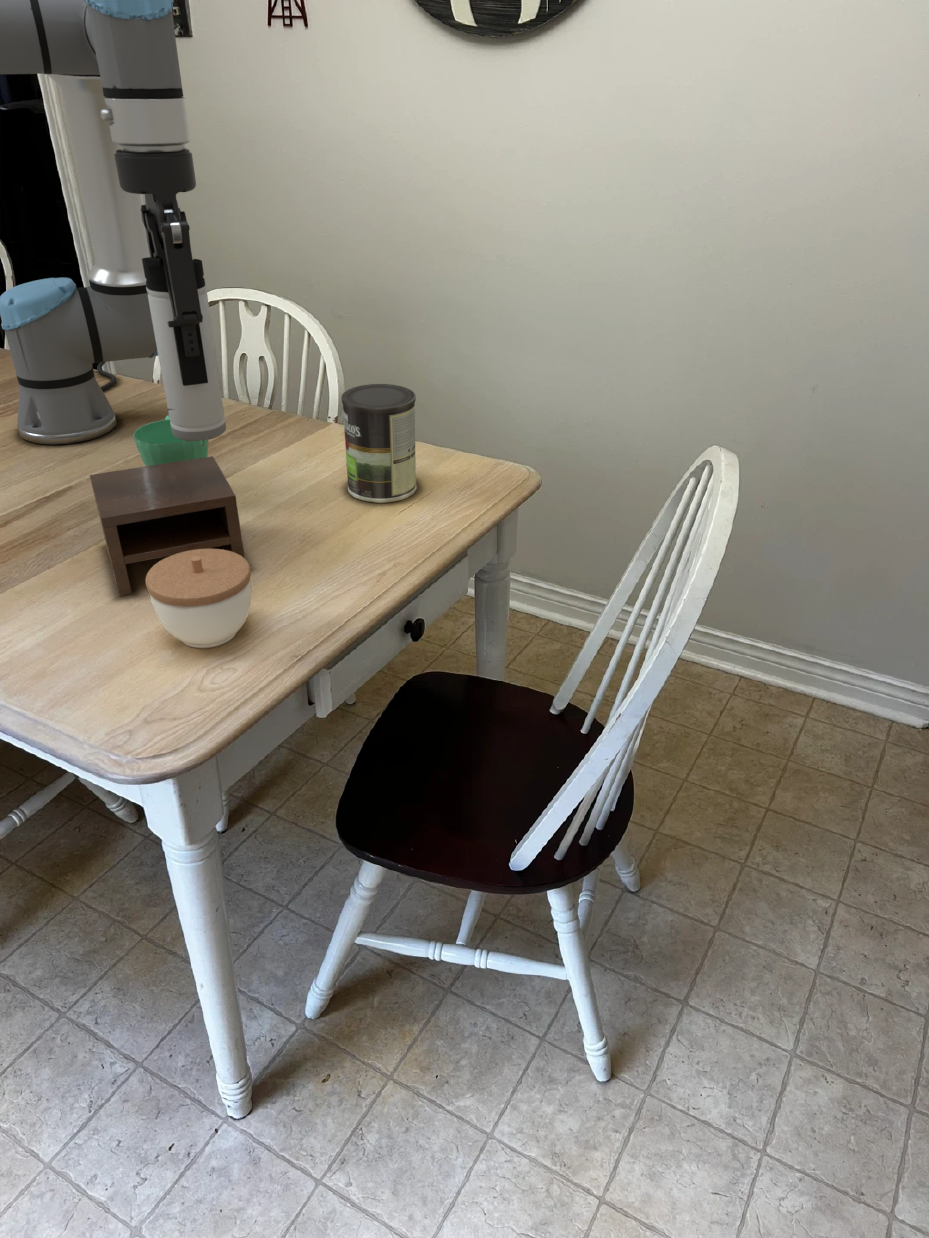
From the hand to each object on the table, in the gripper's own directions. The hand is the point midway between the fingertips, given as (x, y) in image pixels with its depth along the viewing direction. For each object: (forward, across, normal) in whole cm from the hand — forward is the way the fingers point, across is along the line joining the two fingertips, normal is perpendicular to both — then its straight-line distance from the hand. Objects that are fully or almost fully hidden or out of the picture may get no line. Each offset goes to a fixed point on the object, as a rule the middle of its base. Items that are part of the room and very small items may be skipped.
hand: (189, 374), depth 100 cm
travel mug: (+7, 0, 0) cm, 7 cm away
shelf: (+23, +1, -5) cm, 23 cm away
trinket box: (+23, +19, -5) cm, 30 cm away
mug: (+23, -20, -1) cm, 30 cm away
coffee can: (+23, -8, +26) cm, 36 cm away
